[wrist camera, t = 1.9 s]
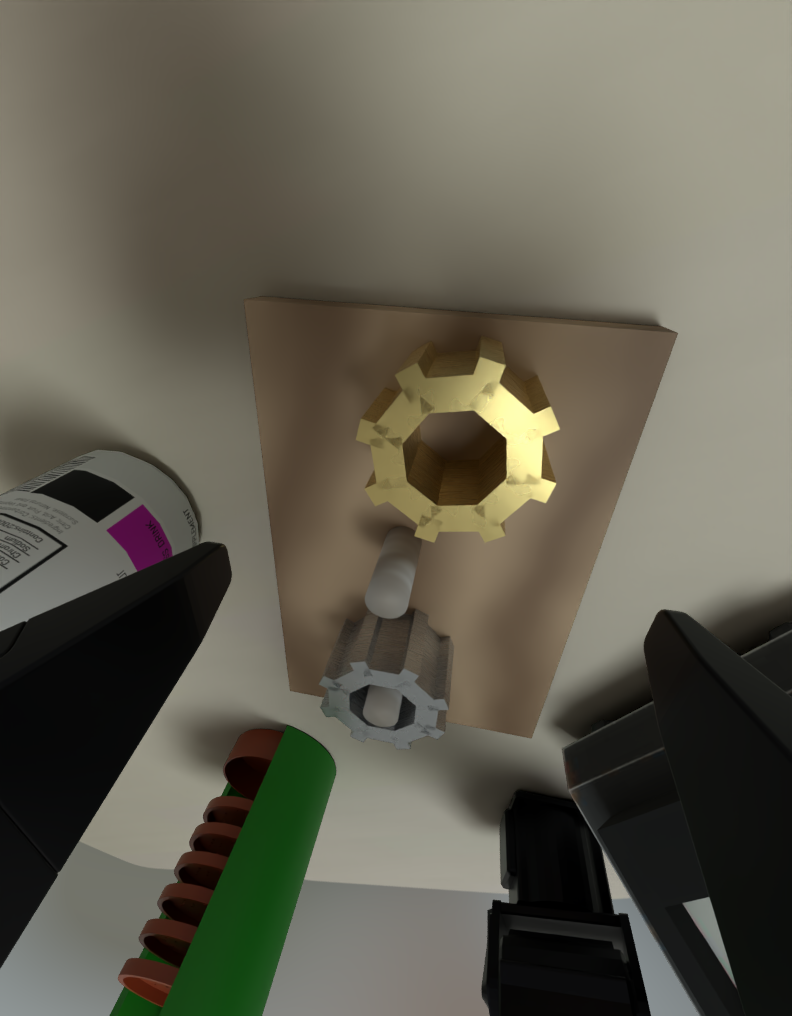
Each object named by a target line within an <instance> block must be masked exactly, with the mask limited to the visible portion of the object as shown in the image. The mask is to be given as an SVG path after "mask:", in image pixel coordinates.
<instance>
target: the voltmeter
mask: <svg viewBox="0 0 792 1016" xmlns="http://www.w3.org/2000/svg"><path fill="white" fill-rule="evenodd" d="M741 657H742V658H743V659H744V660H746V661H747V662H748V663H749V664H751V665H752V666H753V667H754V668H756V669H757V670H758V671H759V672H761V673H762V674H763V675H764V676H766V677H767V678H768V679H770V680H771V681H772V682H773V683H775V684H776V685H777V686H778V687H780V688H781V689H782V690H783V691H785V692H786V693H787V694H788V695H790V696H791V697H792V623H784V624H783V625H781V626H779V627H777V628H775V629H774V630H772V631H770V634H769V642H767V643H765V644H763V645H761V646H759V647H757V648H755V649H753V650H751V651H750V652H748V653H746V654H744V655H742V656H741ZM562 753H563V760H564V766H565V773H566V779H567V786H568V791H569V793H570V794H571V796H572V798H573V800H574V801H575V803H576V805H577V806H578V808H579V810H580V812H581V813H582V815H583V817H584V818H585V820H586V822H587V824H588V825H589V827H590V829H591V830H592V832H593V834H594V836H595V837H596V839H597V841H598V842H599V844H600V846H601V848H602V849H603V851H604V853H605V855H606V856H607V858H608V860H609V861H610V863H611V865H612V867H613V868H614V870H615V872H616V873H617V875H618V877H619V879H620V880H621V882H622V884H623V885H624V887H625V889H626V891H627V892H628V894H629V896H630V897H631V899H632V901H633V903H634V904H635V906H636V908H637V910H638V911H639V913H640V915H641V916H642V918H643V920H644V922H645V923H646V925H647V927H648V928H649V930H650V932H651V934H652V935H653V937H654V939H655V940H656V942H657V944H658V946H659V947H660V949H661V951H662V952H663V954H664V956H665V958H666V959H667V961H668V963H669V965H670V966H671V968H672V970H673V971H674V973H675V975H676V977H677V978H678V980H679V982H680V983H681V985H682V987H683V989H684V990H685V992H686V994H687V995H688V997H689V999H690V1001H691V1002H692V1004H693V1006H694V1007H695V1009H696V1011H697V1013H698V1014H699V1016H745V1014H744V1011H743V1007H742V1004H741V1001H740V997H739V994H738V991H737V987H736V984H735V981H734V977H733V974H732V971H731V968H730V964H729V961H728V958H727V954H726V951H725V948H724V944H723V941H722V938H721V934H720V931H719V928H718V924H717V921H716V918H715V914H714V911H713V908H712V904H711V901H710V898H709V894H708V891H707V888H706V884H705V881H704V878H703V875H702V871H701V868H700V865H699V861H698V858H697V855H696V851H695V848H694V845H693V841H692V838H691V835H690V831H689V828H688V825H687V821H686V818H685V815H684V811H683V808H682V805H681V801H680V798H679V795H678V791H677V788H676V785H675V782H674V778H673V775H672V772H671V768H670V765H669V762H668V758H667V755H666V752H665V748H664V745H663V742H662V738H661V735H660V731H659V727H658V723H657V719H656V714H655V708H654V703H653V702H651V703H649V704H647V705H645V706H643V707H641V708H639V709H637V710H635V711H633V712H631V713H629V714H627V715H626V716H624V717H622V718H620V719H618V720H616V721H607V720H601V721H599V722H597V723H595V724H593V725H592V730H591V734H589V735H587V736H585V737H583V738H581V739H579V740H577V741H575V742H573V743H572V744H570V745H568V746H566V747H564V748H562Z"/></svg>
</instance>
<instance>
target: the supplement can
mask: <svg viewBox="0 0 792 1016" xmlns="http://www.w3.org/2000/svg"><path fill="white" fill-rule="evenodd" d="M197 545H199V534H198V523H197V521H196V518H195V514H194V512H193V510H192V508H191V505H190V503H189V501H188V499H187V497H186V496H185V494H184V493H183V492H182V491H181V489H180V488H179V487H178V486H177V485H176V483H175V482H174V481H173V480H172V479H171V478H170V477H168V476H167V475H166V474H164V473H163V472H162V471H160V470H159V469H158V468H156V467H155V466H154V465H152V464H149V463H147V462H145V461H143V460H140V459H138V458H135V457H133V456H130V455H128V454H125V453H123V452H119V451H107V450H95V451H92V452H89V453H87V454H84V455H81V456H78V457H76V458H74V459H72V460H70V461H68V462H66V463H64V464H62V465H60V466H58V467H56V468H54V469H52V470H50V471H48V472H46V473H44V474H42V475H40V476H38V477H36V478H34V479H32V480H30V481H28V482H26V483H24V484H21V485H19V486H17V487H15V488H13V489H11V490H9V491H7V492H5V493H3V494H1V495H0V631H2V630H5V629H7V628H9V627H11V626H14V625H16V624H18V623H20V622H23V621H26V622H27V621H28V620H29V619H30V618H32V617H34V616H37V615H39V614H41V613H44V612H46V611H48V610H50V609H53V608H55V607H57V606H60V605H62V604H64V603H66V602H69V601H71V600H73V599H76V598H78V597H80V596H82V595H85V594H87V593H89V592H92V591H94V590H96V589H98V588H101V587H103V586H105V585H108V584H110V583H112V582H114V581H117V580H119V579H121V578H124V577H126V576H128V575H130V574H133V573H135V572H137V571H140V570H142V569H144V568H146V567H149V566H151V565H153V564H156V563H158V562H160V561H162V560H165V559H167V558H169V557H172V556H174V555H176V554H178V553H181V552H183V551H185V550H188V549H190V548H192V547H194V546H197Z"/></svg>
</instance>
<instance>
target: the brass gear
mask: <svg viewBox="0 0 792 1016" xmlns="http://www.w3.org/2000/svg"><path fill="white" fill-rule="evenodd" d="M395 377H396V378H397V380H398V382H399V384H400V386H401V387H400V388H399V390H398V391H395V390H392V389H389V388H386V387H385V388H384V389H383V390H382V392H381V393H380V394H379V396H378V397H377V398H376V399H375V401H374V402H373V403H372V405H371V406H370V407H369V409H368V410H367V411H366V412H365V414H364V415H363V416H362V418H361V420H360V424H359V428H358V432H357V436H356V440H357V441H360V442H363V443H366V444H369V445H371V452H372V458H373V464H374V471H373V473H372V475H371V477H370V479H369V481H368V482H367V484H366V486H365V488H364V489H365V491H366V492H367V494H368V496H369V497H370V499H371V500H372V502H373V503H374V505H375V506H377V505H380V504H382V503H385V502H387V501H388V502H389V503H391V504H392V505H393V506H394V507H396V508H397V509H398V510H400V511H401V512H402V513H404V514H405V515H406V516H407V517H409V518H410V519H411V520H413V521H414V522H415V523H416V524H417V527H416V531H415V535H414V536H415V537H418V538H421V539H424V540H427V541H430V542H433V543H434V542H435V540H436V537H437V535H438V532H479V533H480V535H481V537H482V538H483V540H484V542H485V543H486V542H489V541H492V540H495V539H498V538H501V537H504V536H506V534H505V519H506V518H508V517H509V516H510V515H511V514H512V513H514V512H515V511H516V510H517V509H518V508H520V507H521V506H522V505H523V504H524V503H526V502H527V501H528V500H529V499H530V498H532V499H535V500H538V501H541V502H544V503H546V502H547V500H548V498H549V496H550V494H551V493H552V491H553V489H554V487H555V485H556V480H555V477H554V473H553V470H552V467H551V464H550V460H549V457H548V454H547V451H546V447H545V444H544V441H543V436H545V435H548V434H550V433H552V432H555V431H557V430H560V428H559V425H558V423H557V420H556V418H555V416H554V413H553V411H552V408H551V406H550V403H549V401H548V399H547V396H546V394H545V392H544V389H543V387H542V384H541V382H540V380H539V377H538V375H537V376H535V377H532V378H530V379H528V380H526V381H523V380H522V379H521V378H519V377H518V376H517V375H516V374H515V373H514V372H513V371H512V370H511V369H510V368H508V367H507V366H506V363H505V358H504V352H503V346H502V342H500V341H497V340H494V339H491V338H488V337H485V336H482V335H481V338H480V340H479V343H478V346H477V349H476V350H468V351H458V352H447V353H437V351H436V349H435V347H434V344H433V342H432V340H431V341H430V342H428V343H426V344H424V345H422V346H421V347H419V348H417V349H415V350H413V352H412V353H411V354H410V356H409V357H408V358H407V359H406V361H405V362H404V363H403V365H402V366H401V367H400V369H399V370H398V371H397V373H396V374H395ZM473 410H474V411H475V412H476V413H477V414H479V415H480V416H481V417H482V418H483V419H484V420H485V421H487V422H488V423H489V424H490V425H491V426H492V427H494V428H495V429H496V430H497V431H498V432H499V433H500V434H502V435H503V436H502V437H501V438H500V439H499V440H498V441H497V442H496V443H495V444H494V445H493V446H492V447H491V448H490V449H489V450H488V451H487V452H486V453H485V454H484V455H483V456H482V457H481V458H480V459H474V460H450V461H446V460H445V459H443V458H442V457H441V456H440V455H439V454H437V453H436V452H435V451H434V450H433V449H431V448H430V447H429V446H428V445H426V444H425V443H424V442H423V441H422V440H421V432H420V423H421V422H422V421H423V420H424V419H425V418H426V416H427V415H428V414H429V413H443V412H458V411H473Z"/></svg>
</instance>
